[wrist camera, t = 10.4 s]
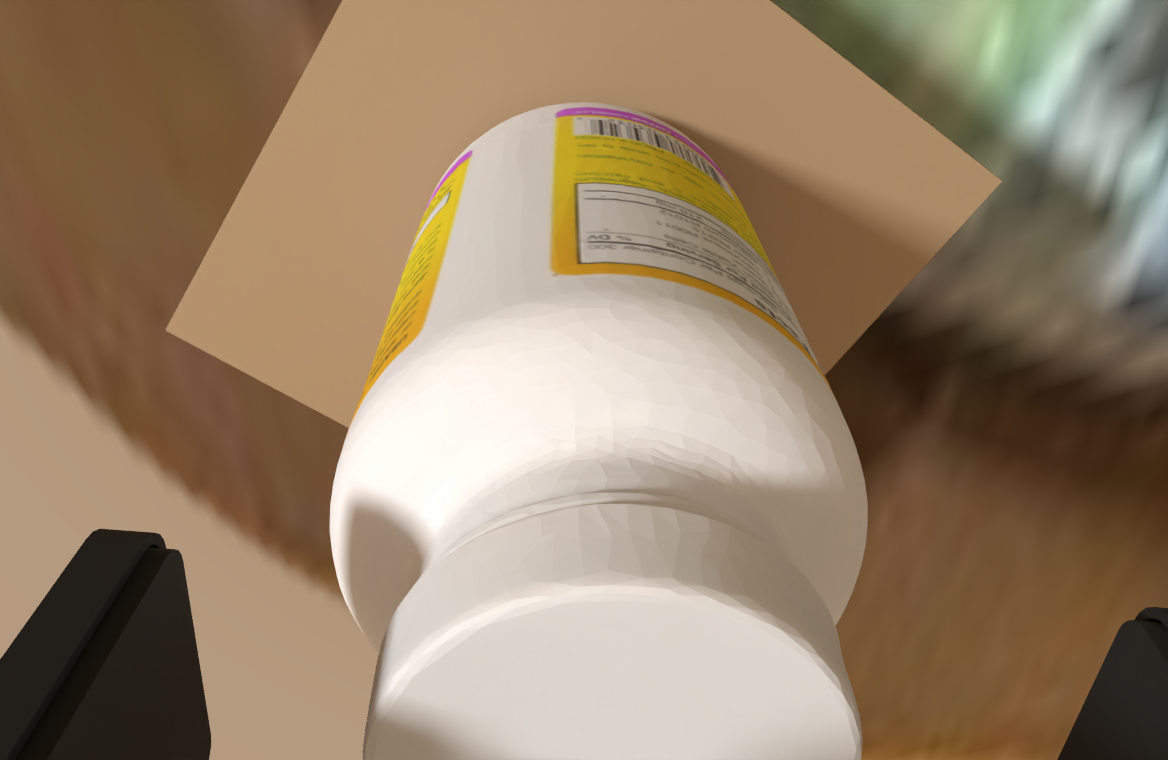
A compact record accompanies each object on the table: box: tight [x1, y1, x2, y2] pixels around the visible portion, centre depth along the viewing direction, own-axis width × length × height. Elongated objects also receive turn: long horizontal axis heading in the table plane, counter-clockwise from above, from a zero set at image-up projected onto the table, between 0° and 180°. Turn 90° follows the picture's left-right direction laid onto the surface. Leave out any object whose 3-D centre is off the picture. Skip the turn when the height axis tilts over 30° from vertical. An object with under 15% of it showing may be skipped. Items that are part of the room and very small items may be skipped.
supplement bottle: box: [330, 102, 867, 760], centre depth 15 cm, size 7×7×13 cm
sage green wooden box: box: [166, 0, 1002, 428], centre depth 23 cm, size 12×12×6 cm
